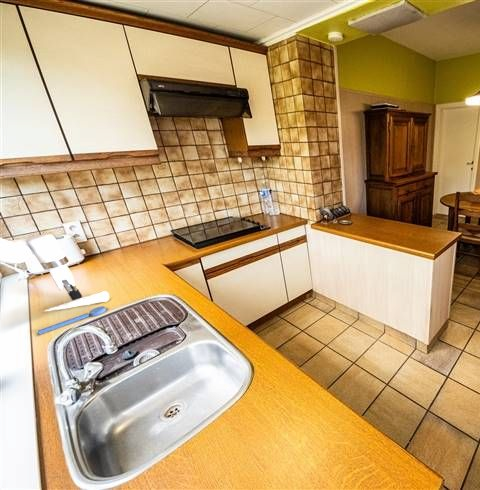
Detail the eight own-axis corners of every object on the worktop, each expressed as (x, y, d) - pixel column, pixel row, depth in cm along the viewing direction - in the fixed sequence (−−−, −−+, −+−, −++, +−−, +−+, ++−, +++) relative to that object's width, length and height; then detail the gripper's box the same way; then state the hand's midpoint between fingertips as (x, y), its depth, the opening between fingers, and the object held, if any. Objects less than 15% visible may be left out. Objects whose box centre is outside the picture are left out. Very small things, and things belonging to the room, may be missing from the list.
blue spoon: (38, 336, 101) (36, 333, 101) (40, 330, 104) (38, 328, 104) (106, 311, 114) (105, 309, 113) (105, 307, 117) (104, 304, 117)
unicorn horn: (50, 307, 120) (45, 298, 118) (112, 297, 124) (107, 289, 122) (41, 313, 115) (35, 304, 113) (105, 303, 120) (100, 294, 118)
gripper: (43, 261, 115) (65, 296, 123) (41, 271, 106) (65, 308, 113) (67, 255, 120) (87, 289, 128) (67, 264, 111) (89, 300, 118)
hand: (77, 298), depth 120 cm, fingers closed
